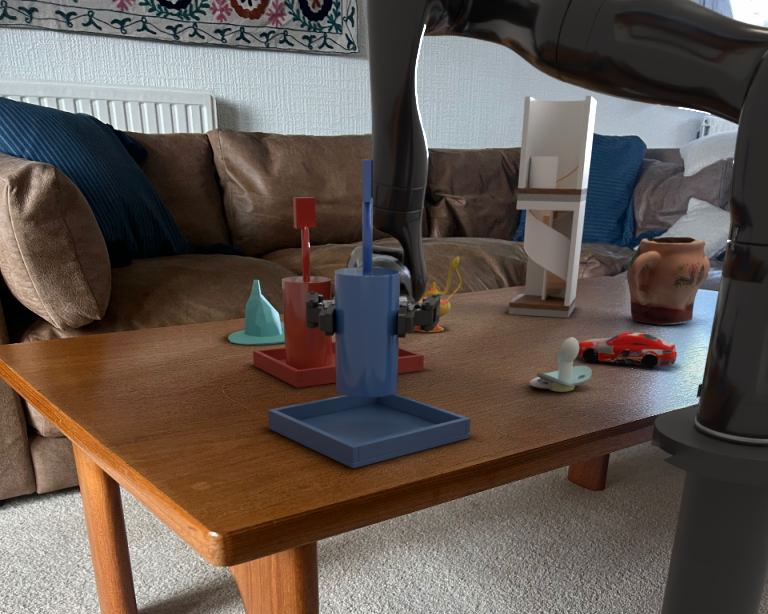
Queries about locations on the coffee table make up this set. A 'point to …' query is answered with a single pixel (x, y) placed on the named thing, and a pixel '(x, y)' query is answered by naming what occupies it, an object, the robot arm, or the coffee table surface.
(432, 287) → the magic lamp
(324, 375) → the red tray
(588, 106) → the display case
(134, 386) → the coffee table surface
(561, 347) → the pacifier
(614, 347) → the race car
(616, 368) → the coffee table surface
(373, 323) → the blue pot
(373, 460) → the blue tray
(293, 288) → the red spoon pot
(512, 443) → the coffee table surface
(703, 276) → the decorative planter
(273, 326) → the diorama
